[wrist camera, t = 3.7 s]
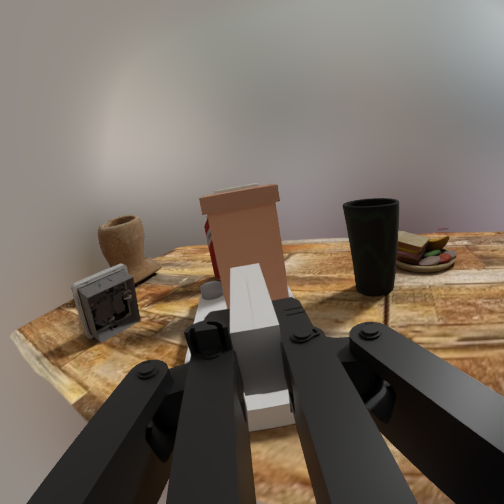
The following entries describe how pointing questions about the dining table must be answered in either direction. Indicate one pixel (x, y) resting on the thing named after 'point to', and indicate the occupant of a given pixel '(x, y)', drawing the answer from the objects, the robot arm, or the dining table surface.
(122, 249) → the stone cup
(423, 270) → the toy sandwich meal
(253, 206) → the orange capped block
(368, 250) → the cup
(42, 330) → the dining table surface
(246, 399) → the panel
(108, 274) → the electrical switch
